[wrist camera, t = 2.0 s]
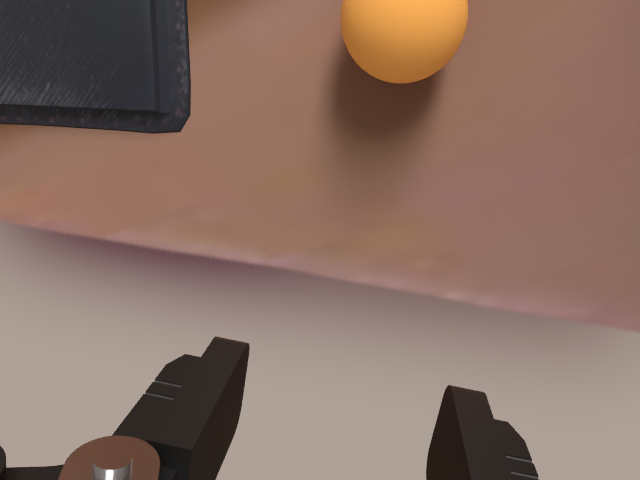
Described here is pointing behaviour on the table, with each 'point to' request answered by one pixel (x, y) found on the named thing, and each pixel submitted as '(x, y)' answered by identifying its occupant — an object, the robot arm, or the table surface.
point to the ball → (403, 36)
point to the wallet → (95, 64)
